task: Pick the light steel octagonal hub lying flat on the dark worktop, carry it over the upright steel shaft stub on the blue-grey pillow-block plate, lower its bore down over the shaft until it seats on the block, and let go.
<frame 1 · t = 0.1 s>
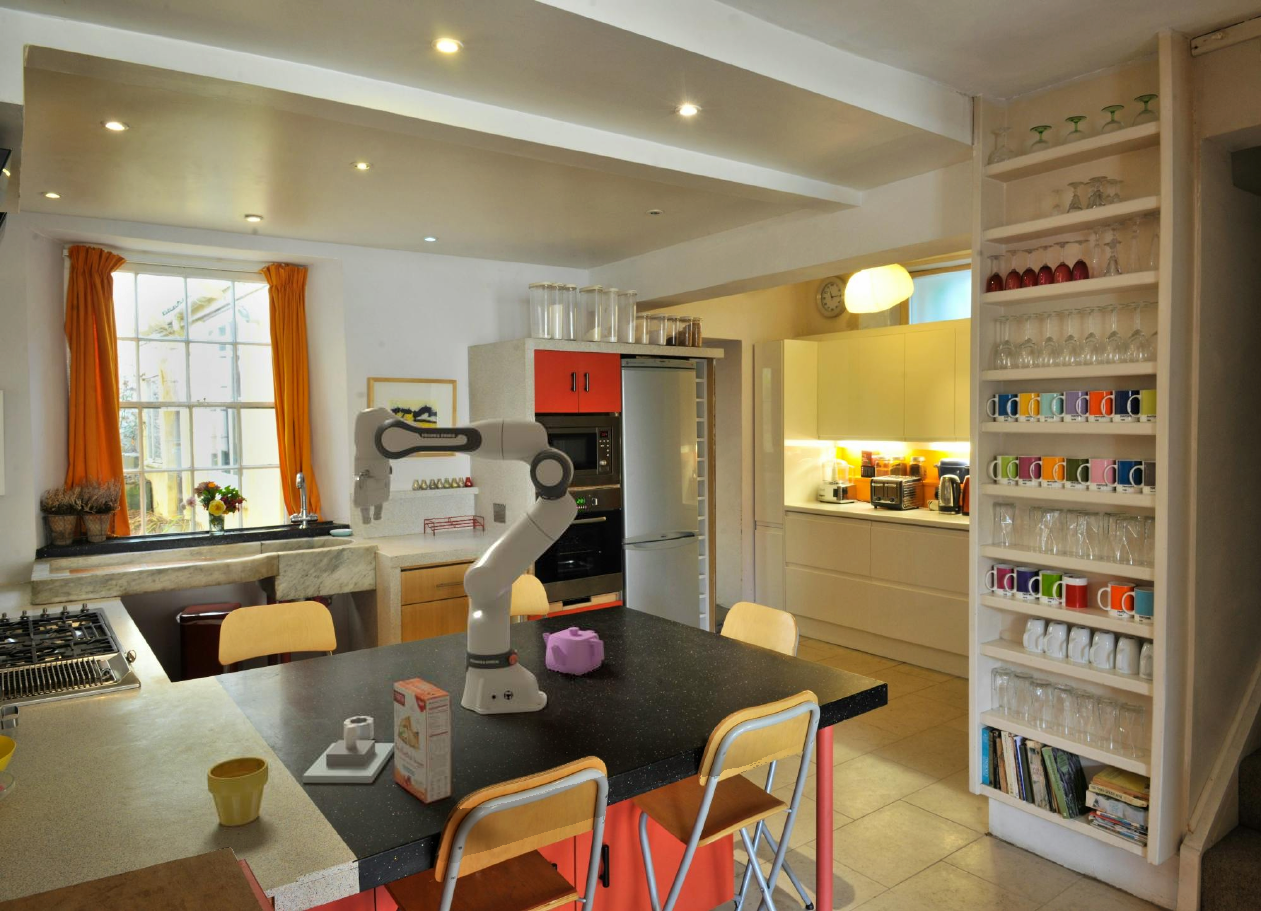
hand: (372, 522, 224), 48 cm above the table, fingers open, 8 cm apart
cracker box: (421, 790, 172), on the table
plant pot: (238, 819, 159), on the table
teakettle: (571, 668, 259), on the table
hub: (358, 739, 199), on the table
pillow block: (351, 765, 184), on the table
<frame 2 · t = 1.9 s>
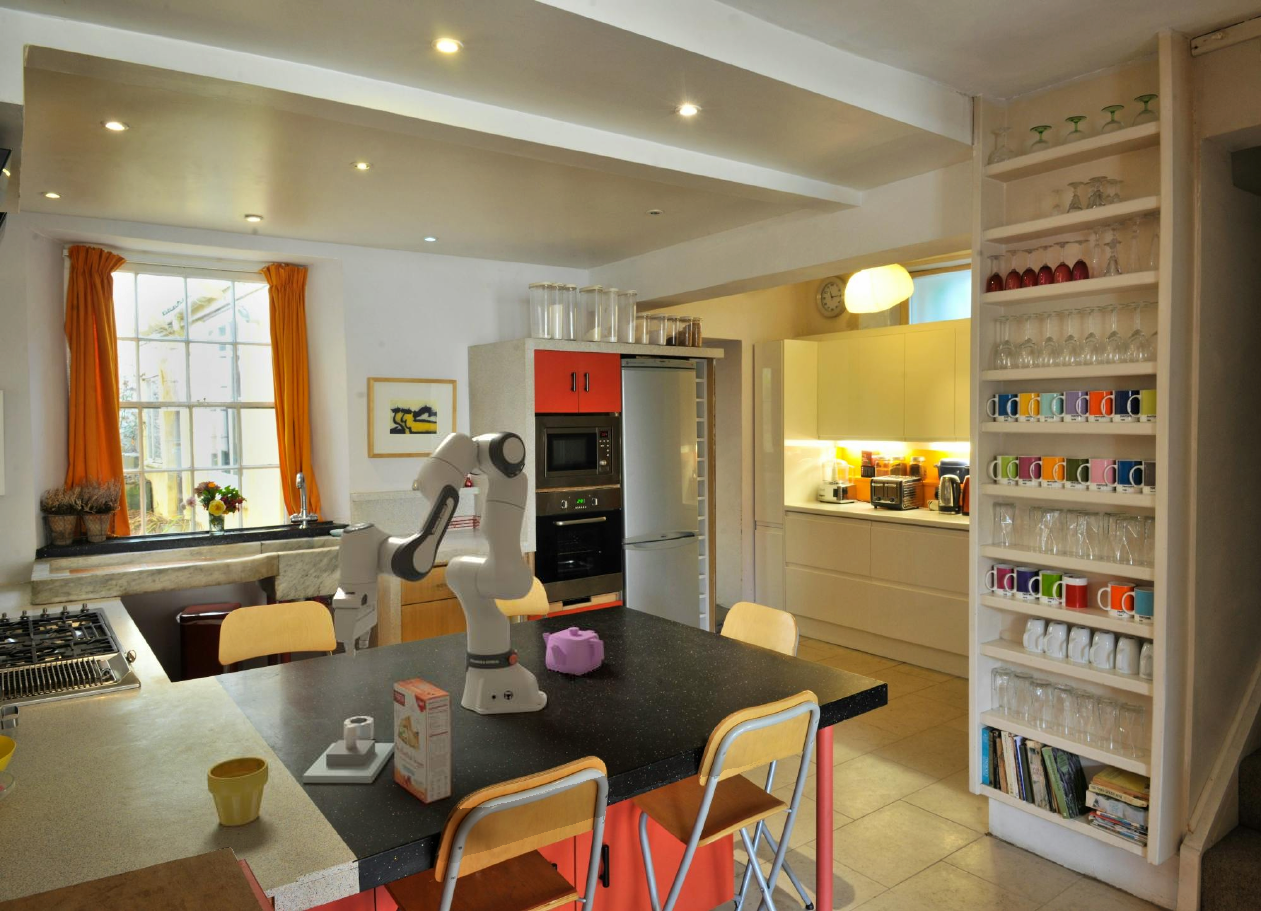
hand: (357, 652, 199), 20 cm above the table, fingers open, 8 cm apart
nothing on the table moved.
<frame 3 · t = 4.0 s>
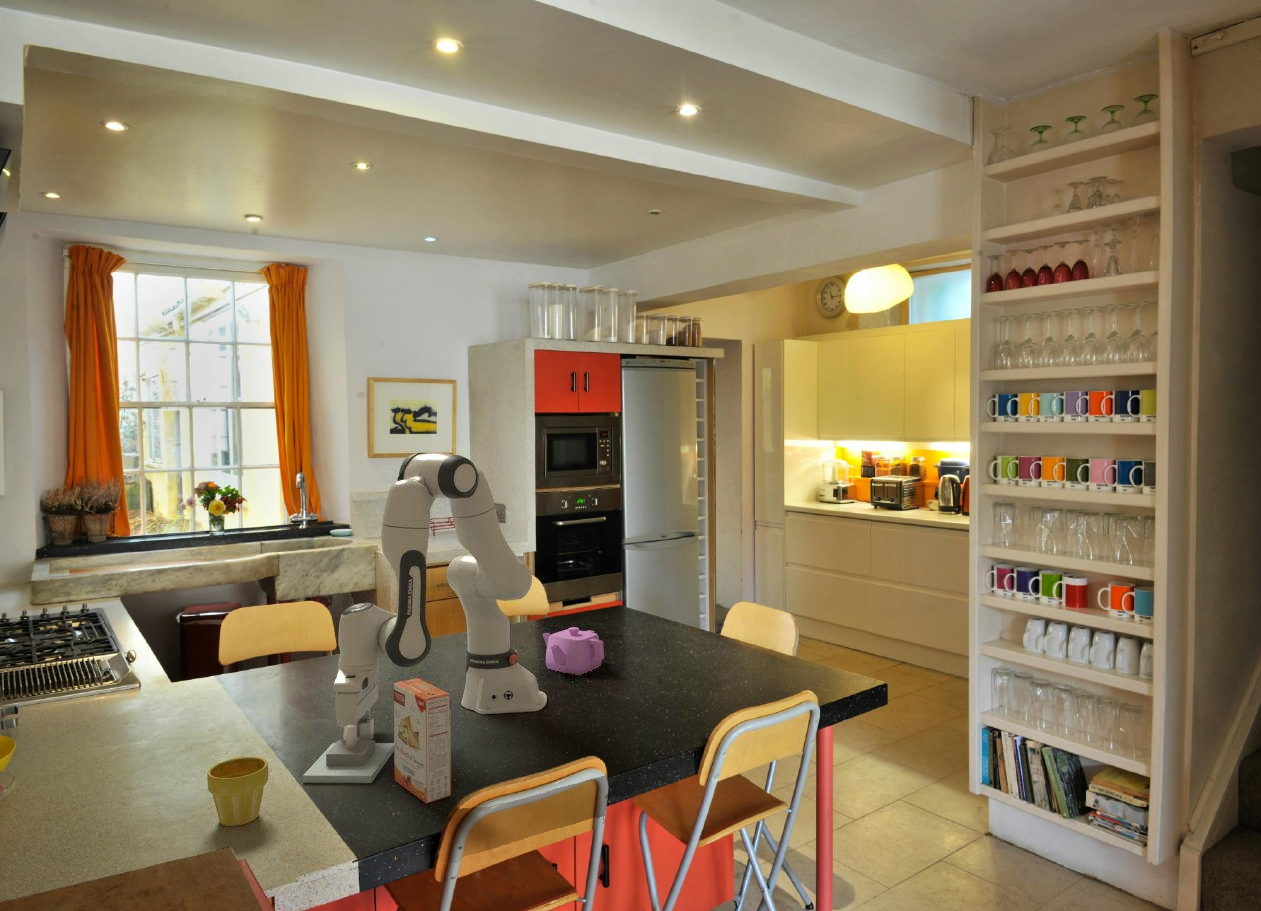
hand: (358, 732, 199), 2 cm above the table, fingers closed on hub, 6 cm apart
hub: (358, 739, 199), on the table, touching gripper
everything else where it was.
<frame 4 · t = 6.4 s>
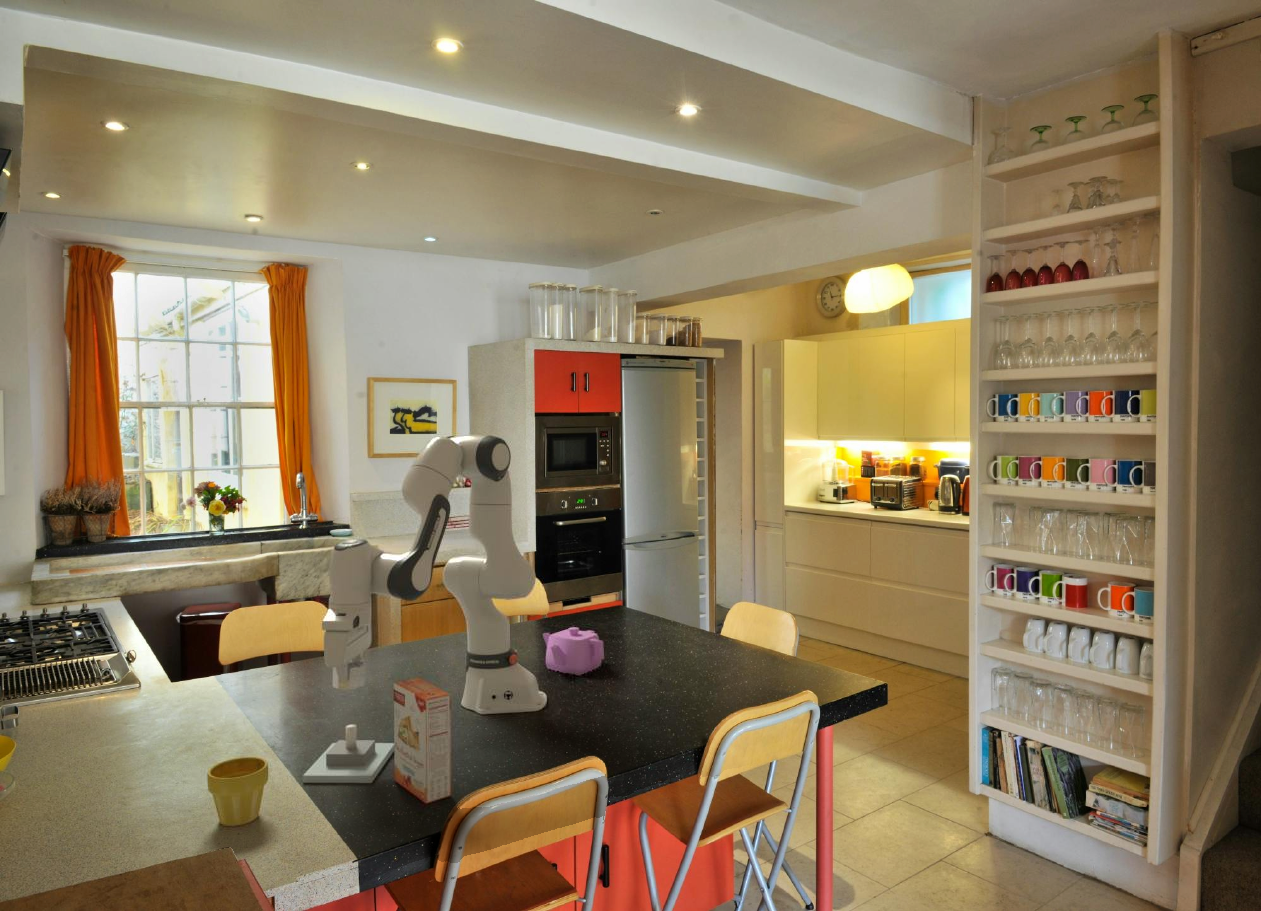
hand: (349, 677, 186), 18 cm above the table, fingers closed on hub, 6 cm apart
hub: (348, 685, 186), point 17 cm above the table, touching gripper
everything else where it was.
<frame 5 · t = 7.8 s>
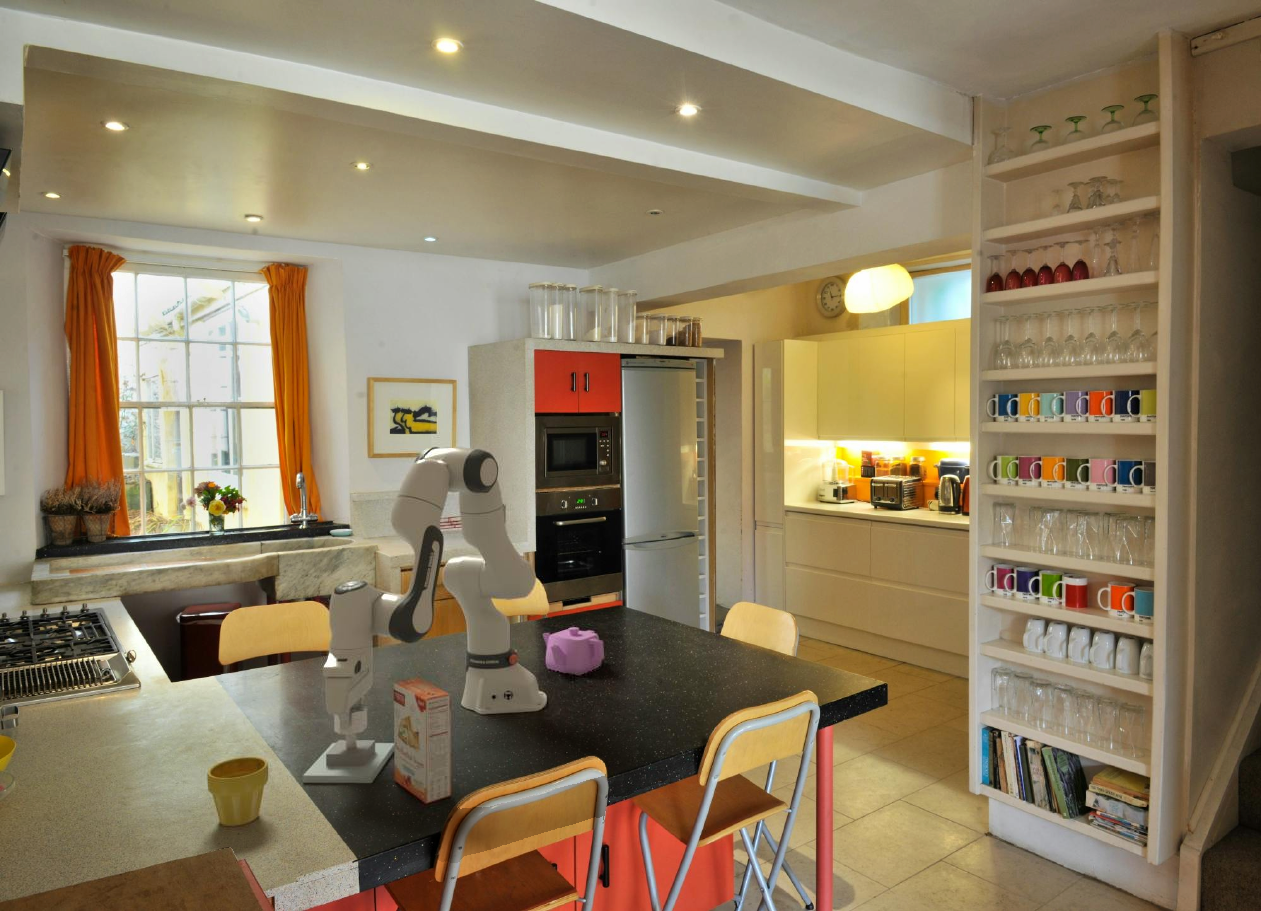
hand: (351, 721, 184), 10 cm above the table, fingers closed on hub, 6 cm apart
hub: (350, 729, 184), point 8 cm above the table, touching gripper
everything else where it was.
when the fingers open (7 cm above the table, at t = 8.8 s): hub stays where it is, resting on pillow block.
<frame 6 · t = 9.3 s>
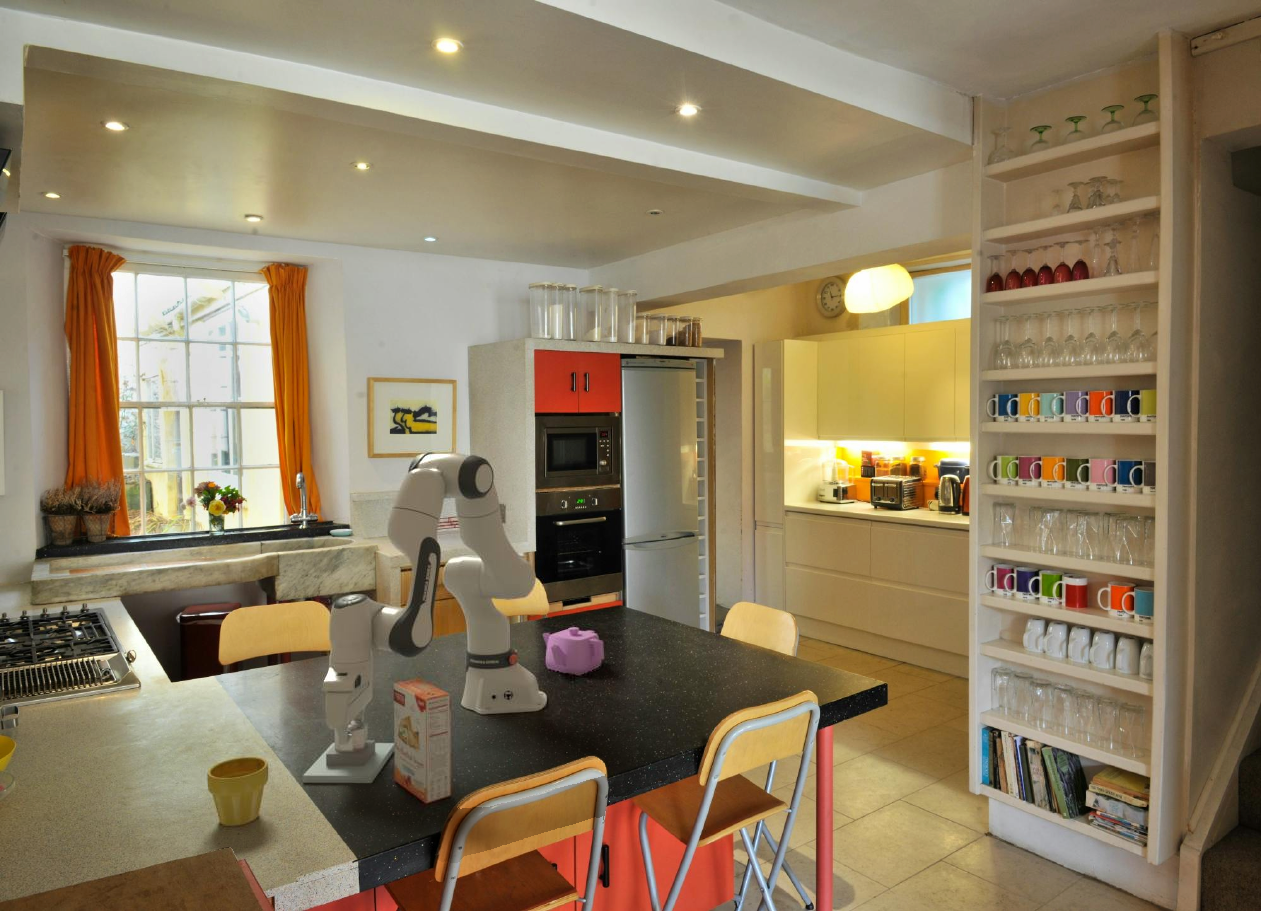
hand: (351, 735, 184), 7 cm above the table, fingers open, 8 cm apart
hub: (351, 746, 184), point 4 cm above the table, touching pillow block
everything else where it was.
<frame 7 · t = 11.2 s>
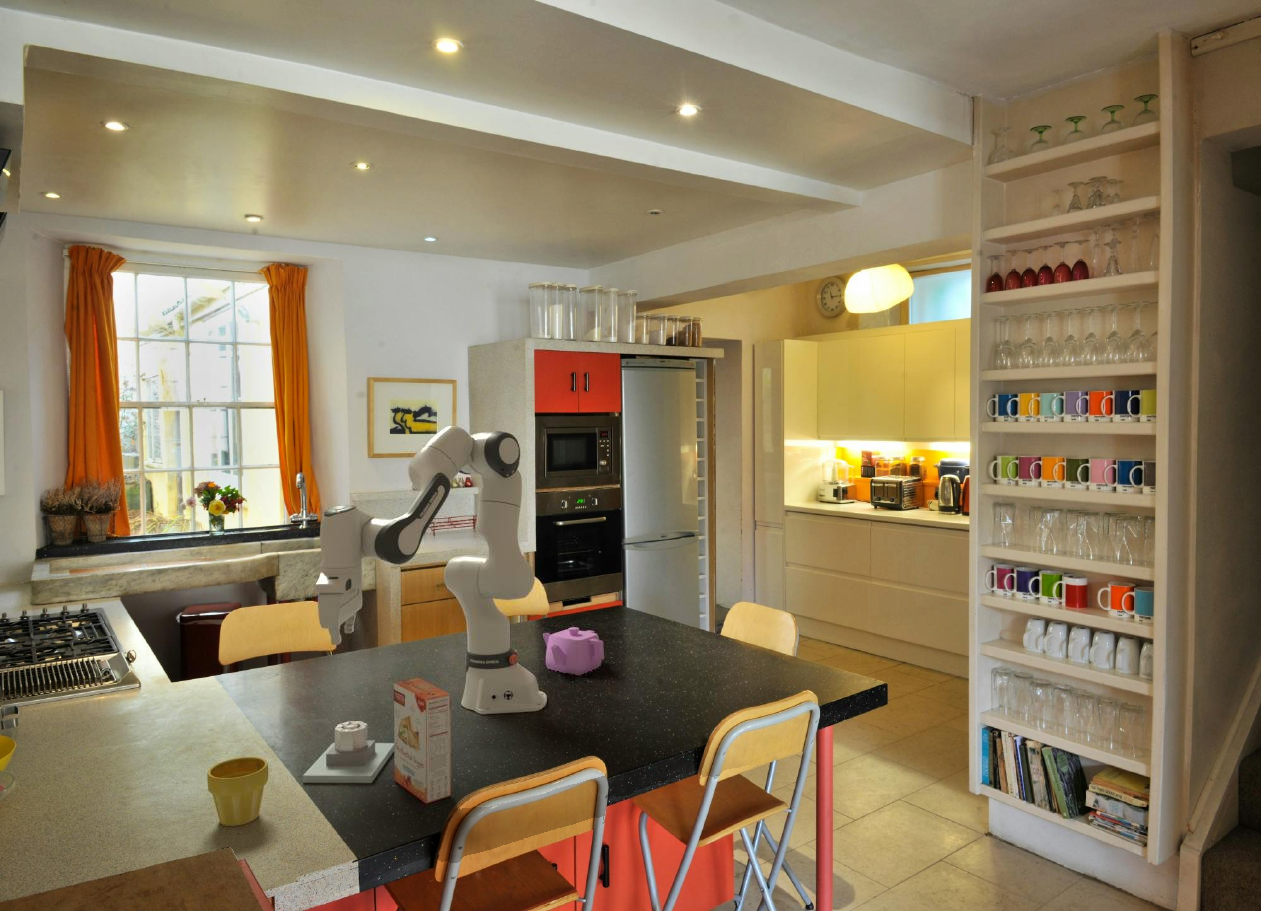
hand: (342, 638, 193), 25 cm above the table, fingers open, 8 cm apart
nothing on the table moved.
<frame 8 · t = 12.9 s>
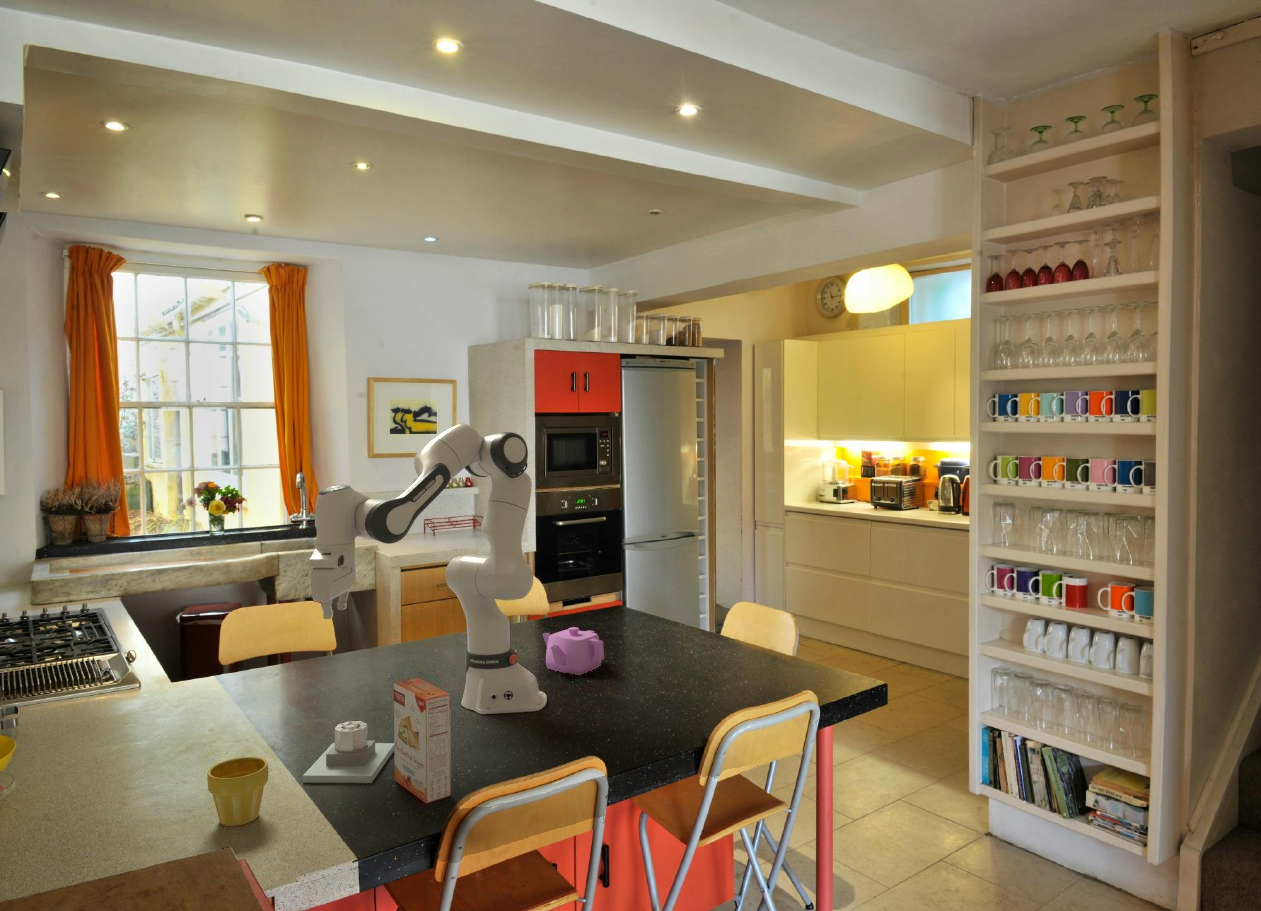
hand: (335, 613, 200), 29 cm above the table, fingers open, 8 cm apart
nothing on the table moved.
at the end: hub 0.1 cm off-centre on the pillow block, point 4.0 cm above the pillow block's base; hub tilted 0°; the gripper is holding nothing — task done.
